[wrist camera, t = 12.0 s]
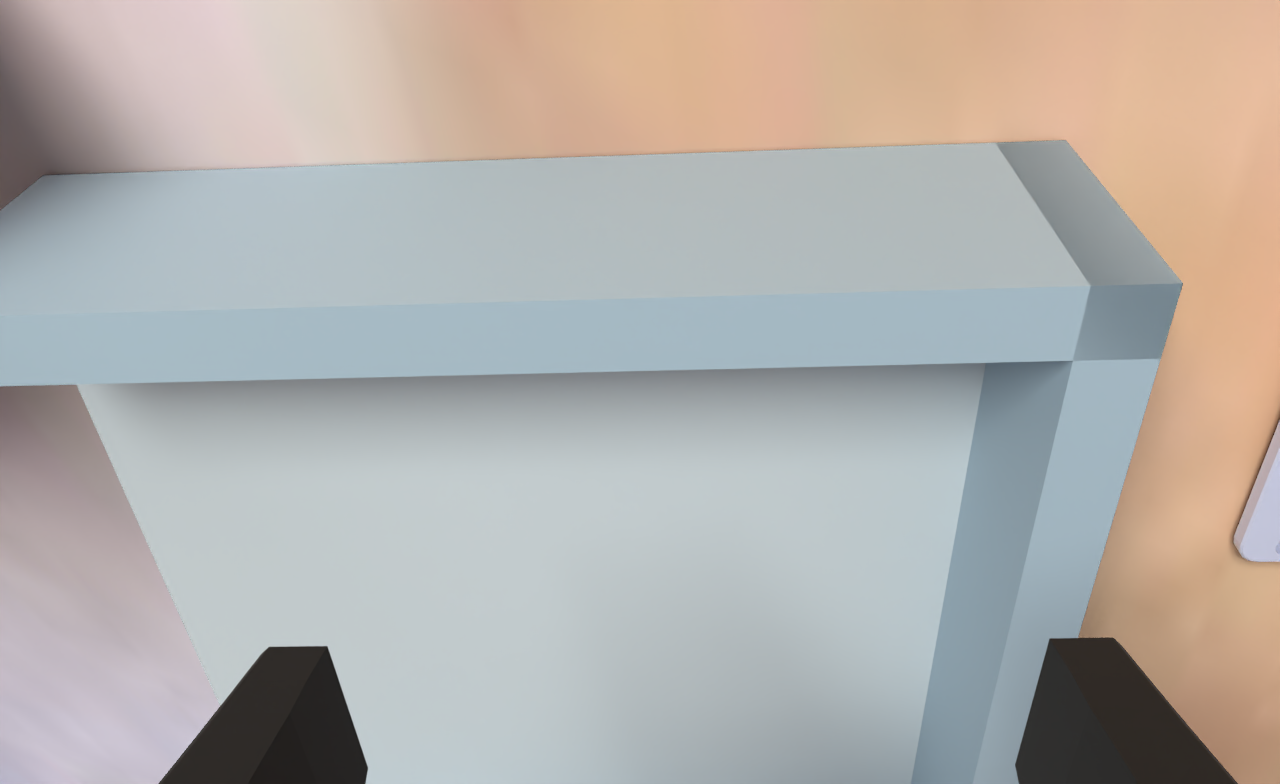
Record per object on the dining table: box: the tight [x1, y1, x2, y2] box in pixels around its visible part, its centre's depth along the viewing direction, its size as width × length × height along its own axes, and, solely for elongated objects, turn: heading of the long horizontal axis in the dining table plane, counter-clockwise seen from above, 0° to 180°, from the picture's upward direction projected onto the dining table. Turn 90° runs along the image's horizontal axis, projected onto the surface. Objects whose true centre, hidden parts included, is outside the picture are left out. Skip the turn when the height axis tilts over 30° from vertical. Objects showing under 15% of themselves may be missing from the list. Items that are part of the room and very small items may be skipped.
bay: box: [0, 140, 1183, 784], centre depth 22 cm, size 18×19×5 cm
